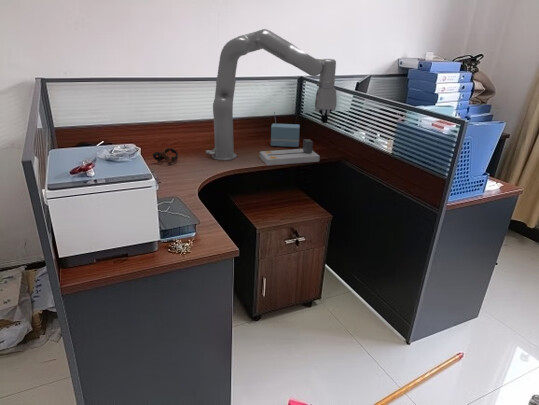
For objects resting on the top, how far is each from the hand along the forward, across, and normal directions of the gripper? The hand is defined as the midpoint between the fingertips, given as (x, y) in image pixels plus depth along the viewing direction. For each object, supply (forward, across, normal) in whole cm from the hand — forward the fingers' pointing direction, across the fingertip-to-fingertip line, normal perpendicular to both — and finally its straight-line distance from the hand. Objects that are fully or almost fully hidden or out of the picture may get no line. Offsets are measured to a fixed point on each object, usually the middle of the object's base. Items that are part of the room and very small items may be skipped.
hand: (324, 122), depth 200 cm
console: (+18, -18, 0) cm, 26 cm away
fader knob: (+15, -8, 0) cm, 17 cm away
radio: (+19, -12, +25) cm, 34 cm away
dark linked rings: (+18, -80, +9) cm, 83 cm away
